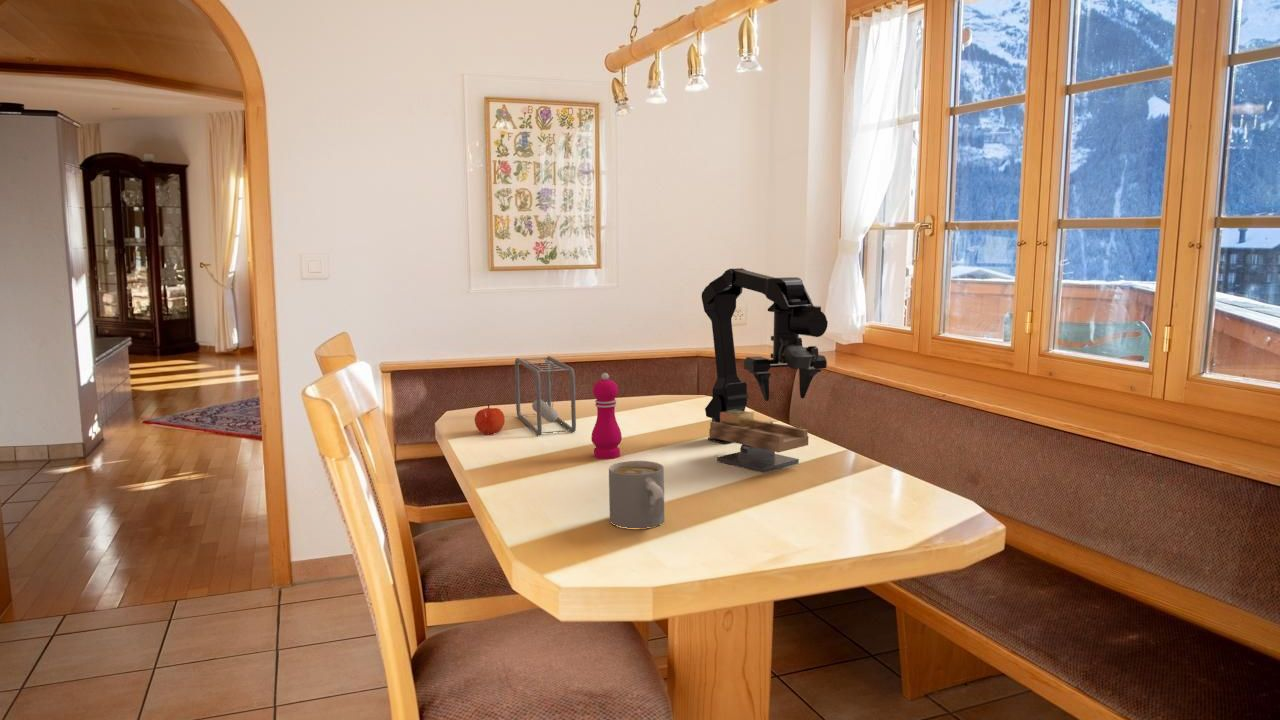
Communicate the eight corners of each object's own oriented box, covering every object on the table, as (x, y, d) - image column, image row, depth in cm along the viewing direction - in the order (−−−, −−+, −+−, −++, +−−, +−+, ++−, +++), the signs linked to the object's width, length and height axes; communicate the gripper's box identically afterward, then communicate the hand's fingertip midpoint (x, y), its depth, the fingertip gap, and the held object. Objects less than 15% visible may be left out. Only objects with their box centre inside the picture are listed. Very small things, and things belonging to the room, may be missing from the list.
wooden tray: (709, 437, 202) (709, 421, 202) (738, 430, 208) (738, 415, 208) (778, 452, 186) (778, 435, 186) (808, 445, 193) (808, 428, 192)
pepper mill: (586, 457, 205) (583, 374, 202) (601, 451, 211) (599, 370, 209) (612, 460, 202) (610, 375, 199) (627, 454, 208) (625, 371, 205)
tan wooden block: (720, 426, 203) (719, 412, 202) (734, 423, 206) (734, 409, 205) (738, 430, 198) (738, 415, 198) (753, 427, 201) (753, 412, 201)
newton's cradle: (576, 434, 232) (574, 368, 229) (538, 437, 228) (536, 370, 226) (551, 414, 260) (549, 355, 257) (516, 416, 256) (514, 357, 254)
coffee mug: (603, 516, 161) (602, 463, 159) (653, 510, 164) (653, 458, 162) (625, 538, 148) (624, 481, 147) (679, 531, 151) (678, 476, 150)
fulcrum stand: (717, 461, 199) (717, 440, 199) (752, 452, 207) (752, 432, 206) (763, 472, 189) (763, 450, 188) (798, 463, 196) (798, 441, 196)
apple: (500, 436, 229) (498, 407, 228) (470, 436, 230) (469, 406, 229) (509, 430, 237) (508, 401, 236) (481, 430, 238) (479, 401, 237)
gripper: (765, 338, 188) (764, 409, 190) (840, 334, 194) (838, 403, 196) (743, 332, 198) (742, 399, 200) (815, 329, 204) (813, 394, 206)
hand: (784, 399), depth 201 cm, fingers open, 9 cm apart
